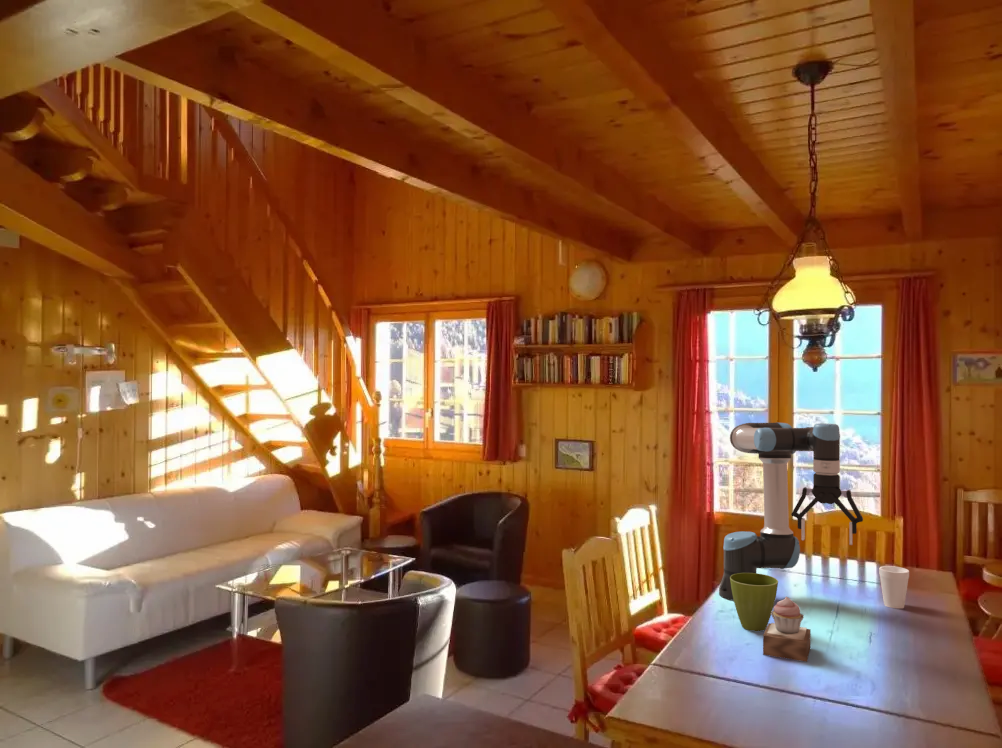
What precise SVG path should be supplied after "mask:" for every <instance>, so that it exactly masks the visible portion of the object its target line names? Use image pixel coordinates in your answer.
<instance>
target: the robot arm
mask: <svg viewBox="0 0 1002 748" xmlns="http://www.w3.org/2000/svg"><path fill="white" fill-rule="evenodd" d="M729 441H730V443H731V445H732V447H733V448H734V449H735V450H737V451H739V452H741V453H745V454H755V455H757V454H758V459H759V461H760V462H762V479H763V483H762V484H763V519H764V522H763V523H764V524H763V528H761V529H760V533H759V534H760V535H759V536H758V535H757V534H756V533H755V532H752V531H746V530H745V531H742V530H741V531H735V532H731V533H728V534H727V535H725V536H724V539H723V548H722V549H723V575H722V579H721V581H720V584H719V587H718V595H719V596H720V597H721V598H723V599H727V600H730V601H734V599H733V594H732V589H731V582H730V576H731V575H733V574H737V573H757V570H758V569H781V570H783V569H793V568H794V567H795V566H796V565H797V564H798V562H799V559H800V555H801V554H800V553H801V546H800V541H799V539H798V537H796V536H794V531H793V530H792V529H791V528H790V525H789V524H790V523H789V520H790V518H789V484H788V481H789V480H788V478H789V477H788V463H789V461H791V460H792V455H793V454H795V453H797V452H813V454H812V455H813V457H812V458H813V460H812V463H813V465H812V466H813V467H812V468H813V472H814V474H813V482H812V484H813V485H812V486H813V487H812V488H808V487H806V486H804V487H803V488H802V490H801V491H802V492H801V496H800V498H799V500H798V502H797V503H796V505H795V507H794V509H793V510H792V512H791V516H792V517H795V518H796V519H797V529H798V530H801V532H800V533H801V535H800V536H801V541H805V539H806V532H805V531H806V530H805V529H806V523H805V522H806V518H805V517H804V516H805V515H806V514H807V513H808V512H809V511H810V510H812V508H813V507H814V506H815V505H816V504H817V503H820V504H828V505H833V504H835V505H836V507H838V508H839V509H840V510H841V512H842V513H843V514H844V515H845V516H846V517H847V518H848V520H849V526H848V527H849V529H848V530H849V534H848V535H849V537H848V538H849V539H848V541H849V544H848V545H849V546H853V535H855V534H857V529H858V528H857V524H858V523H862V522H863V521H864V517H863V515H862V514H861V512H860V509H859V508H858V506H857V504H856V503H855V500H854V499H853V496H852V491H851V489H847V490H841V480H840V479H841V476H840V474H839V473H840V472H841V465H840V463H841V460H840V453H841V449H840V448H841V447H840V445H841V443H840V442H841V433H840V426H839V424H836V423H820V422H819V423H815V424H814V425H813V426H808V427H807V426H806V427H793V426H792V425H791V424H789V423H787V422H746V423H741V424H739V425H736V426H735V427H733V429H732V430H731V432H730V434H729ZM810 493H811V494H812V495H813V497H814V498H813V499H812V500H811V502H809V503H808V504H807V505H806V506H805V507H804V508H803V510H802V511H800V512H799V510H800V508H801V506H802V505H803V503H804V501H805V499H806V497H807V496H808V495H810ZM841 496H843V497H844V498H845V499H847V501H848V504H849V505H850V507H851V509H852V511H853V512H854V515H853V514H852V513H851V511H850V510H848V508H847V507H846V506H845V505H844V503H843V502H842V501H841V500H840V499H839V498H841Z"/></svg>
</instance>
